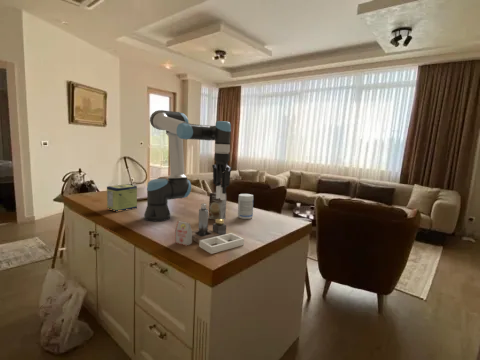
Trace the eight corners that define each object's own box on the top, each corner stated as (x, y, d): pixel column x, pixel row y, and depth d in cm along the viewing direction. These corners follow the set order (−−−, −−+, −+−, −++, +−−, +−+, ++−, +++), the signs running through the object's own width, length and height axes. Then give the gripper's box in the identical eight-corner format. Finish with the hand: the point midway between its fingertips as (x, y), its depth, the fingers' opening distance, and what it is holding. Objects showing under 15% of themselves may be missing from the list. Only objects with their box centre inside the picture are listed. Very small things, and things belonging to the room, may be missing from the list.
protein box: (137, 208, 182) (137, 185, 180) (116, 212, 169) (115, 188, 167) (127, 205, 187) (127, 183, 185) (106, 209, 174) (106, 186, 172)
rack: (199, 246, 121) (199, 240, 120) (231, 238, 133) (231, 232, 132) (211, 253, 114) (211, 247, 113) (243, 244, 126) (244, 238, 125)
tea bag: (180, 240, 128) (180, 220, 126) (191, 243, 125) (192, 222, 123) (175, 242, 124) (175, 222, 123) (187, 245, 122) (187, 224, 120)
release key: (213, 231, 139) (213, 219, 138) (220, 229, 142) (220, 218, 141) (218, 233, 136) (218, 221, 135) (225, 232, 139) (225, 220, 138)
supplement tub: (255, 218, 171) (256, 195, 169) (243, 220, 165) (244, 197, 163) (246, 214, 179) (247, 193, 177) (234, 216, 173) (235, 194, 171)
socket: (186, 236, 134) (186, 226, 133) (216, 229, 145) (216, 220, 145) (198, 243, 124) (199, 233, 124) (230, 236, 136) (230, 226, 136)
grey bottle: (196, 236, 133) (197, 203, 131) (204, 235, 136) (205, 202, 134) (201, 239, 130) (202, 205, 127) (209, 237, 133) (210, 204, 130)
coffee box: (208, 218, 165) (208, 193, 163) (213, 216, 171) (214, 191, 169) (221, 221, 162) (222, 195, 159) (226, 218, 167) (227, 193, 165)
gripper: (238, 154, 130) (236, 201, 133) (218, 152, 142) (217, 195, 145) (226, 153, 125) (224, 202, 128) (206, 151, 137) (205, 196, 140)
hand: (220, 198), depth 137 cm, fingers open, 3 cm apart
